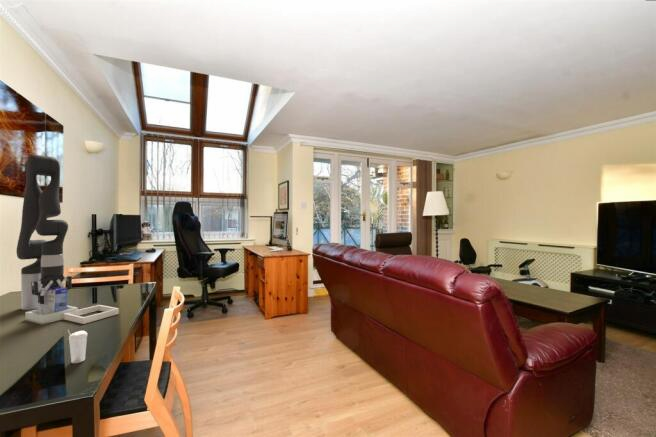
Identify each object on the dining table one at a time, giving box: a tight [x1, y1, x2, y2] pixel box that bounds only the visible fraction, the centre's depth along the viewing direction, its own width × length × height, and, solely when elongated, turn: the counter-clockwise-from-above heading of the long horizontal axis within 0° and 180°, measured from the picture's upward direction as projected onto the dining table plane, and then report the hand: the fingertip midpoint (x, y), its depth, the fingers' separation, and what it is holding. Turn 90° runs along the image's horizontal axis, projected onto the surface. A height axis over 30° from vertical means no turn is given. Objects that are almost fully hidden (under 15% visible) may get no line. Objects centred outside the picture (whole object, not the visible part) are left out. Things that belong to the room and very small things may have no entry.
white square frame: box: [62, 304, 120, 325], centre depth 137 cm, size 15×15×2 cm
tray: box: [24, 305, 79, 325], centre depth 135 cm, size 13×13×4 cm
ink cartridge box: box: [39, 285, 69, 315], centre depth 136 cm, size 10×6×14 cm, turn 75°
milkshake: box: [67, 328, 88, 364], centre depth 95 cm, size 4×5×10 cm
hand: (52, 301), depth 135 cm, fingers open, 7 cm apart
